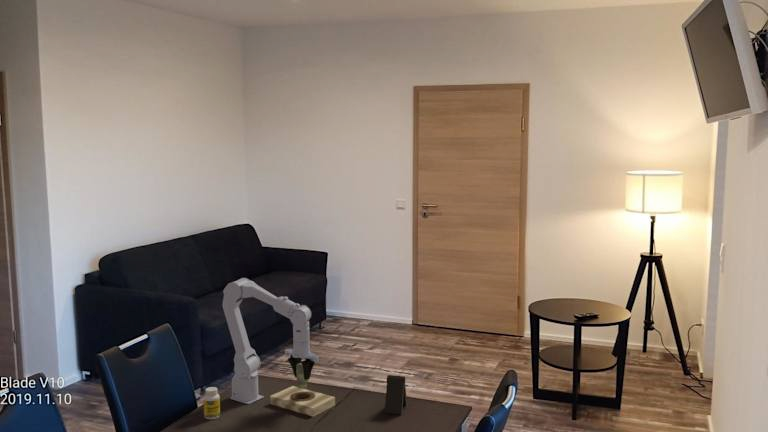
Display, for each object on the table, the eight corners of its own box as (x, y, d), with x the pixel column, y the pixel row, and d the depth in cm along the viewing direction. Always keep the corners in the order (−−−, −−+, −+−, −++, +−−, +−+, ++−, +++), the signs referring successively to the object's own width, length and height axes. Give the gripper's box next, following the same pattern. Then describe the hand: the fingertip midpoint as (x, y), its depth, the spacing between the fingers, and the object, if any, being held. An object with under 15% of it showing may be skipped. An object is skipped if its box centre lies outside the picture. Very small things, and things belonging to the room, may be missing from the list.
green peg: (294, 387, 238) (293, 365, 237) (301, 383, 241) (301, 362, 240) (302, 389, 235) (302, 367, 234) (310, 386, 239) (310, 364, 238)
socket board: (270, 404, 240) (270, 395, 239) (293, 393, 249) (292, 385, 249) (313, 416, 228) (313, 407, 228) (335, 405, 238) (335, 396, 238)
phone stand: (401, 415, 229) (401, 381, 228) (384, 413, 231) (384, 379, 229) (407, 405, 238) (407, 372, 237) (391, 403, 239) (390, 371, 238)
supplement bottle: (206, 421, 225) (205, 392, 224) (202, 415, 230) (201, 387, 229) (222, 417, 228) (221, 390, 227) (218, 412, 233) (217, 385, 232)
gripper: (278, 340, 237) (279, 377, 239) (309, 347, 229) (310, 385, 230) (291, 335, 243) (292, 371, 244) (322, 341, 235) (323, 379, 236)
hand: (302, 377), depth 238 cm, fingers closed on green peg, 4 cm apart
